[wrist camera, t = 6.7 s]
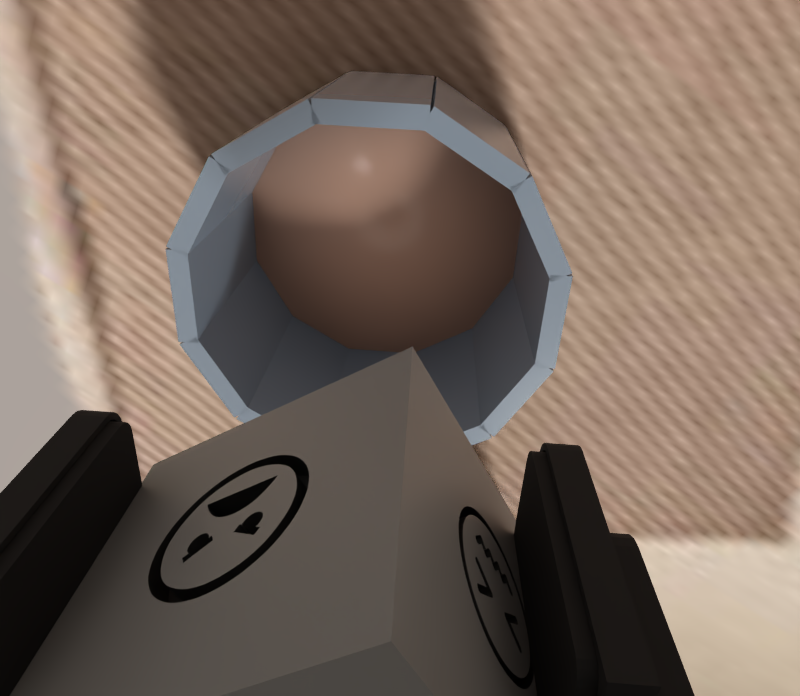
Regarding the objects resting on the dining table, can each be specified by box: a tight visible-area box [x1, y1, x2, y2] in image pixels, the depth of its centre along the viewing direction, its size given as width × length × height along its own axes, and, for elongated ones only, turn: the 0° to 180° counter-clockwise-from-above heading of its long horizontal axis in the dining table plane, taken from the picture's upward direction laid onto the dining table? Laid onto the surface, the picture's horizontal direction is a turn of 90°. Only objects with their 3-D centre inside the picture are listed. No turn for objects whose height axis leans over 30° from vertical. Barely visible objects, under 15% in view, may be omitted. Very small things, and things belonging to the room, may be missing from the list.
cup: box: [166, 71, 573, 445], centre depth 21 cm, size 11×11×8 cm
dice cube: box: [10, 347, 537, 696], centre depth 9 cm, size 5×5×5 cm
